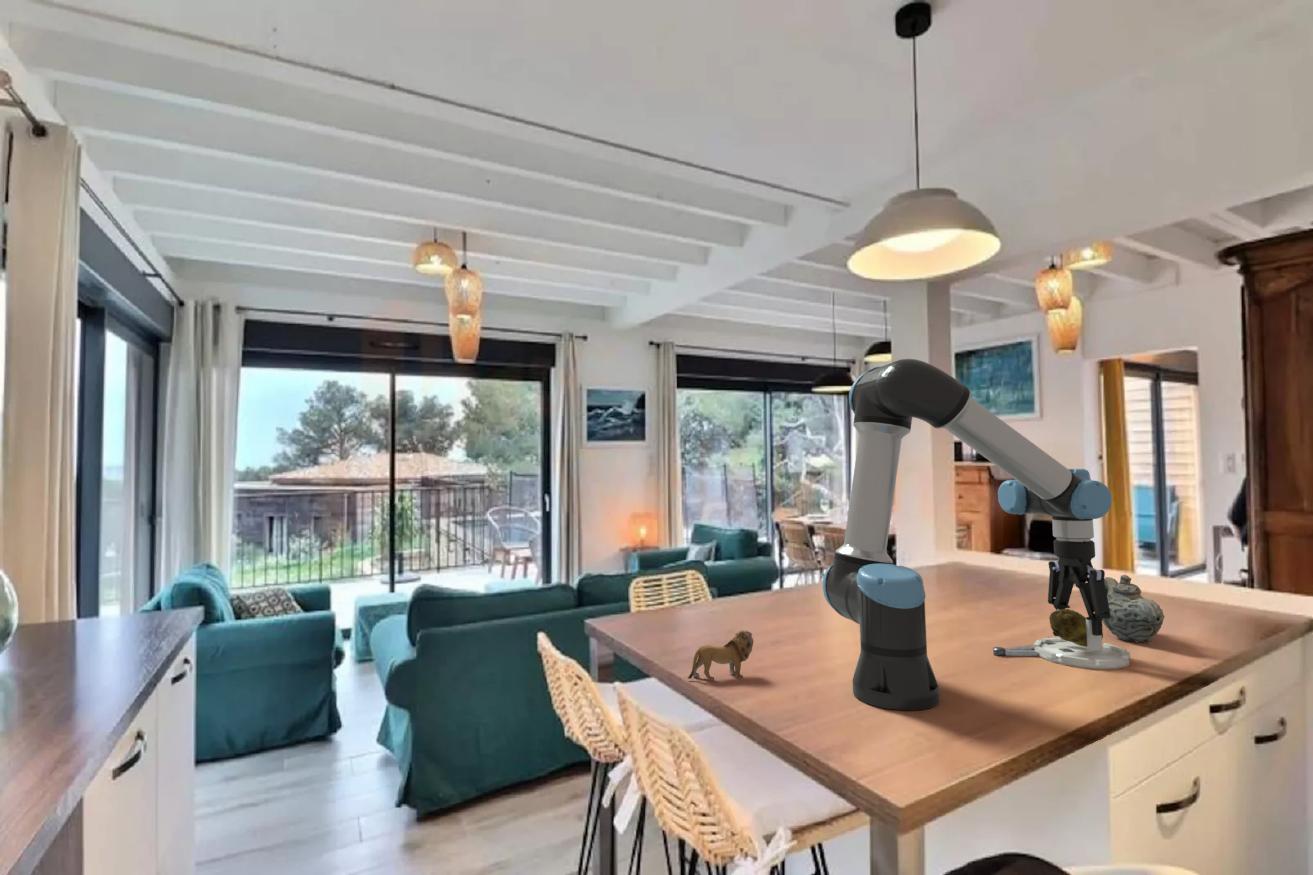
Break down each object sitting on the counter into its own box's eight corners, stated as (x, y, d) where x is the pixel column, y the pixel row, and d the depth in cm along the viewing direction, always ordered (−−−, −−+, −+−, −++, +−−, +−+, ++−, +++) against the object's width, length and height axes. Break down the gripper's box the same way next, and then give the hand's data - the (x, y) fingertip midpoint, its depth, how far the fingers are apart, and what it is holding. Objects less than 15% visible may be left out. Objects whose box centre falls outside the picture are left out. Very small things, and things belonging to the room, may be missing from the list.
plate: (1072, 671, 128) (1071, 662, 128) (1018, 647, 144) (1017, 639, 145) (1150, 667, 129) (1150, 658, 129) (1088, 643, 146) (1087, 636, 146)
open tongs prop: (1007, 661, 135) (1007, 654, 135) (982, 649, 144) (982, 643, 144) (1078, 657, 136) (1078, 651, 136) (1049, 645, 145) (1048, 639, 145)
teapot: (1187, 652, 138) (1183, 583, 138) (1129, 651, 140) (1125, 582, 140) (1130, 627, 159) (1126, 567, 159) (1080, 626, 161) (1077, 567, 161)
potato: (1122, 649, 133) (1120, 611, 134) (1066, 652, 132) (1064, 614, 132) (1091, 638, 142) (1089, 603, 142) (1038, 641, 140) (1036, 605, 141)
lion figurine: (748, 668, 135) (746, 626, 135) (759, 676, 130) (757, 632, 130) (683, 677, 131) (682, 633, 131) (692, 685, 126) (691, 640, 126)
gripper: (1128, 544, 128) (1135, 657, 127) (1056, 533, 149) (1061, 631, 147) (1093, 545, 127) (1100, 659, 126) (1026, 534, 148) (1031, 632, 147)
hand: (1079, 644), depth 137 cm, fingers closed on potato, 8 cm apart
